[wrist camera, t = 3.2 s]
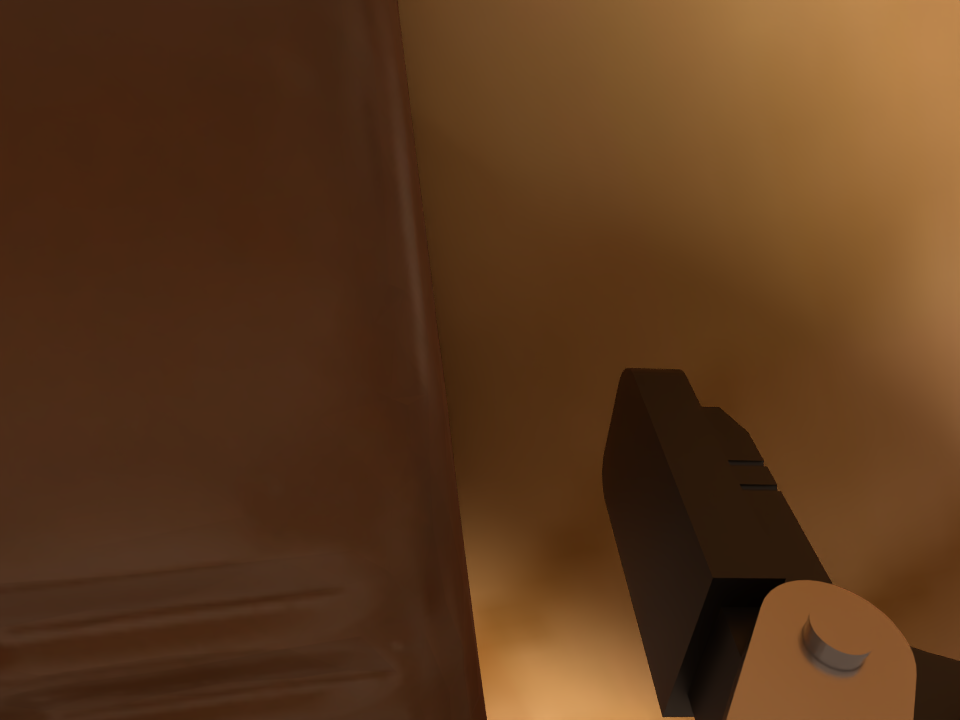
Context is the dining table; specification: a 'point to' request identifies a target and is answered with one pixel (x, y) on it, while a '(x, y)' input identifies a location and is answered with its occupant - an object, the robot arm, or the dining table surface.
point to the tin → (221, 372)
